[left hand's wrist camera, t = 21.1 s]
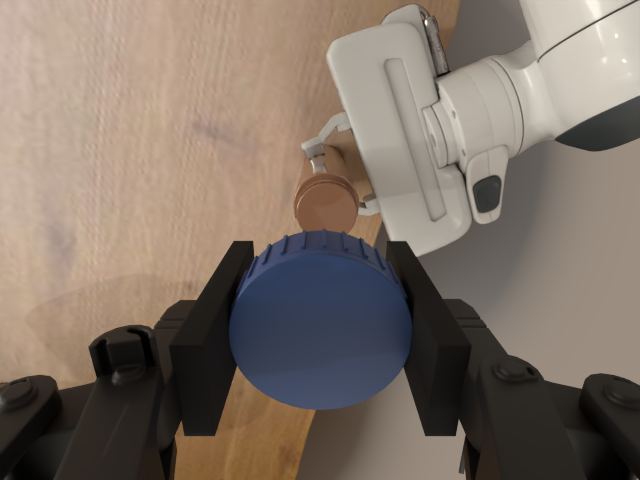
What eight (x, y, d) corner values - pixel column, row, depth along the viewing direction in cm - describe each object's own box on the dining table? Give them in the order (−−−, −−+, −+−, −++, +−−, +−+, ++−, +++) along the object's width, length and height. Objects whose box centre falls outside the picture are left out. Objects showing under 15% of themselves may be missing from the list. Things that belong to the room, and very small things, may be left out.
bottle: (344, 144, 39) (362, 177, 22) (344, 185, 40) (361, 245, 23) (303, 145, 39) (289, 179, 22) (304, 186, 40) (293, 247, 23)
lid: (210, 321, 12) (191, 359, 11) (297, 193, 11) (292, 212, 9) (339, 391, 14) (342, 437, 12) (434, 285, 12) (455, 318, 10)
